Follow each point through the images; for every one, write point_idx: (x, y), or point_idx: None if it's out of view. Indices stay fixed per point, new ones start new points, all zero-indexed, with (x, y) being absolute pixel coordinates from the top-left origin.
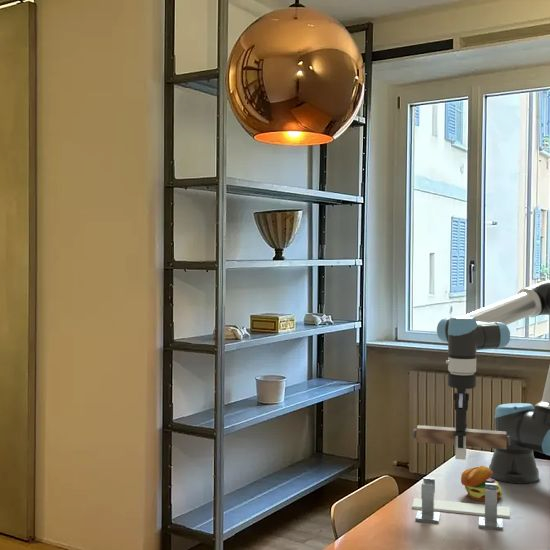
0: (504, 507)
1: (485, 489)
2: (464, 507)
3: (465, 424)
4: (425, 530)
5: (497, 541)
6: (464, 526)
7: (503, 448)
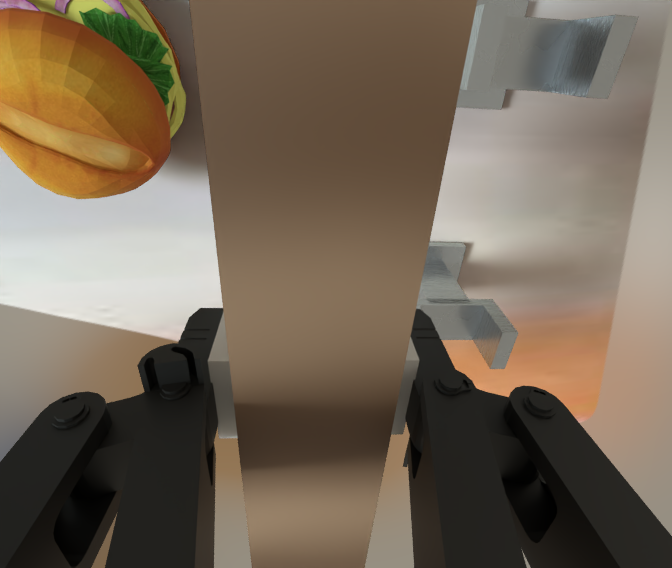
0: None
1: (588, 95)
2: None
3: (201, 450)
4: (516, 274)
5: None
6: (482, 160)
7: None
